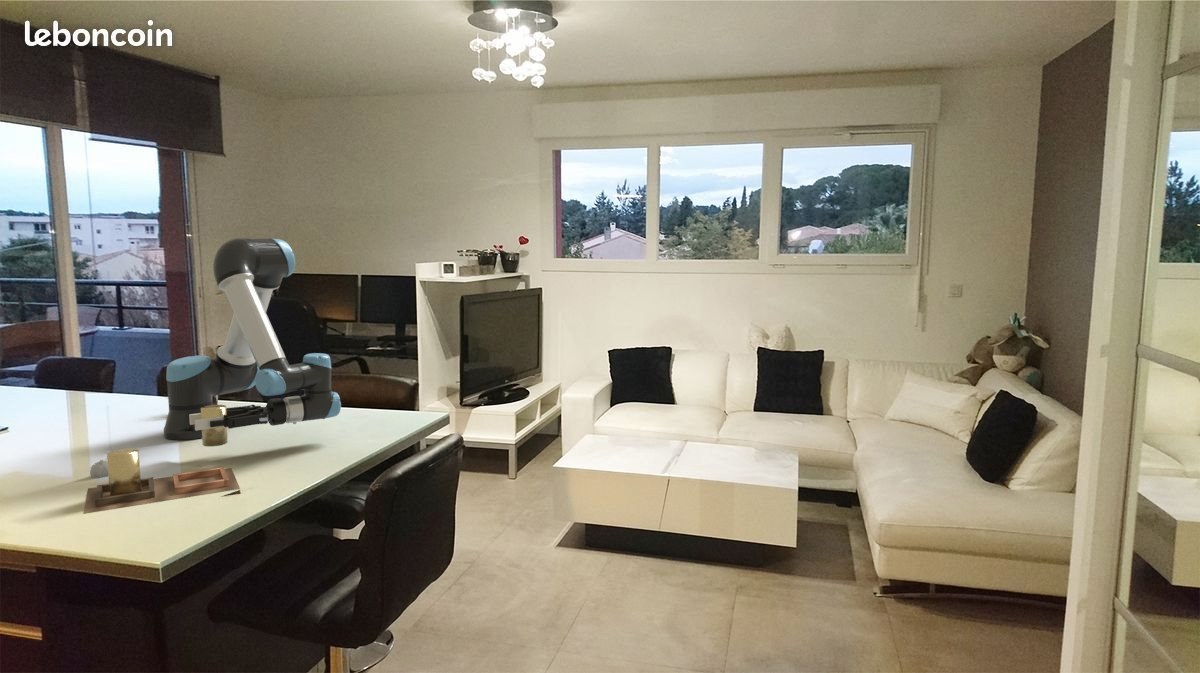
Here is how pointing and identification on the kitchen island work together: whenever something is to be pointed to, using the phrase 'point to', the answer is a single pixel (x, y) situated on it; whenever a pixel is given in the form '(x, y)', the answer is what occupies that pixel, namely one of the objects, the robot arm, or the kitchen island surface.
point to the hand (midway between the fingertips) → (192, 422)
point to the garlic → (99, 469)
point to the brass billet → (215, 434)
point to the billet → (124, 471)
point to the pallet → (164, 489)
